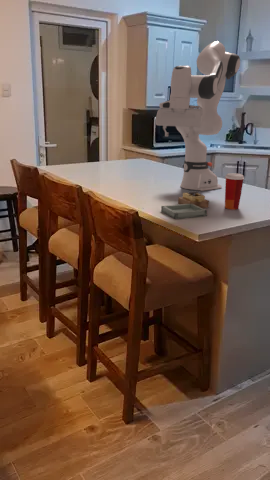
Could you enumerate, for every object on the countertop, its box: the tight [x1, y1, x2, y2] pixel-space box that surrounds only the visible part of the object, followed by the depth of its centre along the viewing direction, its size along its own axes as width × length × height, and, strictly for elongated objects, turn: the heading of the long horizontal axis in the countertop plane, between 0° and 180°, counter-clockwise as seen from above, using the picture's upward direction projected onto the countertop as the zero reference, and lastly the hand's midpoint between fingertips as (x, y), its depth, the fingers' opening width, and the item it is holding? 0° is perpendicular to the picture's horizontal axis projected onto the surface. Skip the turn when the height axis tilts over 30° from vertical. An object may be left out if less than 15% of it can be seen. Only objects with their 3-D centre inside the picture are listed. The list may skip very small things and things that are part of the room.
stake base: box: [177, 196, 210, 209], centre depth 195 cm, size 10×10×3 cm
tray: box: [160, 204, 208, 220], centre depth 181 cm, size 15×12×2 cm
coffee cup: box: [224, 172, 245, 211], centre depth 191 cm, size 8×8×15 cm
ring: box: [182, 192, 206, 202], centre depth 193 cm, size 10×6×2 cm, turn 24°
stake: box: [187, 190, 199, 196], centre depth 194 cm, size 5×1×4 cm, turn 114°
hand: (177, 136), depth 195 cm, fingers open, 8 cm apart
